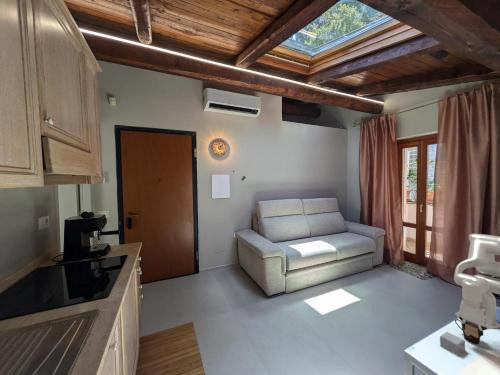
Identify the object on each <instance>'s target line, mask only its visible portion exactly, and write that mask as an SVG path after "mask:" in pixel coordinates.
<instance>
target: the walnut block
mask: <svg viewBox="0 0 500 375" xmlns="http://www.w3.org/2000/svg"><path fill="white" fill-rule="evenodd" d="M478 330H479V327H478V325H477V324H475V323H472V322H470V321H468V322H467V323H466V324H465V332H466V333H468V334H470V335H472V336H474V337H477V338H478V337H479V336H478Z"/></svg>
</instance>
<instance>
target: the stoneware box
mask: <svg viewBox="0 0 500 375" xmlns="http://www.w3.org/2000/svg"><path fill="white" fill-rule="evenodd" d="M439 347H441V348H442V349H445V350H446V351H449V352H450V353H451V354H453V355H455V356H457V357H460V356H461V355H462V354H463V353H465V351H466V340H465V339H462V338H460V337H459V336H456V335H455V334H452V333H450V332H448V331H446V332H444V333H443V334H442V335H440V336H439Z"/></svg>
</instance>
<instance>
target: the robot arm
mask: <svg viewBox="0 0 500 375" xmlns="http://www.w3.org/2000/svg"><path fill="white" fill-rule="evenodd" d="M468 240H469V242H470V244H469V251H468V256H467V259H464V260H462V261H461V262H459V263H457V265H456V267H455V270H454V274H453V280H454V283H455V284H456V285H458V286H461V287H462V288H461V292H462V295H461V296H462V299H461V302H460V306H459V311H457V312H455V314H454V315H455V316H456V317H458V319H459V320H460V321H462V323H463V328H464V330H465V324H466V323H467V320H468V321H470V322H472V323H475V324H477V325H478V327H479V330H478V336H479V337H480V338H482V337H483V336H484V331H486V330H492V329H499V328H500V323H499V322H498V321H497V300H496V297H495V295H494V294H497V295H499V296H500V261H496V260H495V256H500V236H498V235H492V234H490V235H489V234H483V233H471V234H469V235H468ZM469 268H470V269H471V268H475V269H476V271H477V272H479V273H481V274H474V275H470V274H467V273H464V272H463V271H464V270H466V269H469ZM483 274H484V275H483ZM487 275H488V276H487ZM492 276H493V277H492ZM495 277H496V278H495Z"/></svg>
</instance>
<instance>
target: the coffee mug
mask: <svg viewBox="0 0 500 375" xmlns="http://www.w3.org/2000/svg"><path fill="white" fill-rule="evenodd" d="M457 321H458V322H460V323H461V325H459V324H458V323H457ZM467 322H468V320H467ZM454 323H455V324H456V325H457V327H458V328H459V329H460V330H461V331H462V334H463V338H464V339H463V340H464V341H465V342H468V343H470V344H472V345H480V341H481V337H478V338H477V337H474V336H472V335H470V334H468V333H466V332H465V330H464V328H463V323H462V321H461V320H460V319H459V318H455V319H454Z"/></svg>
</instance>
